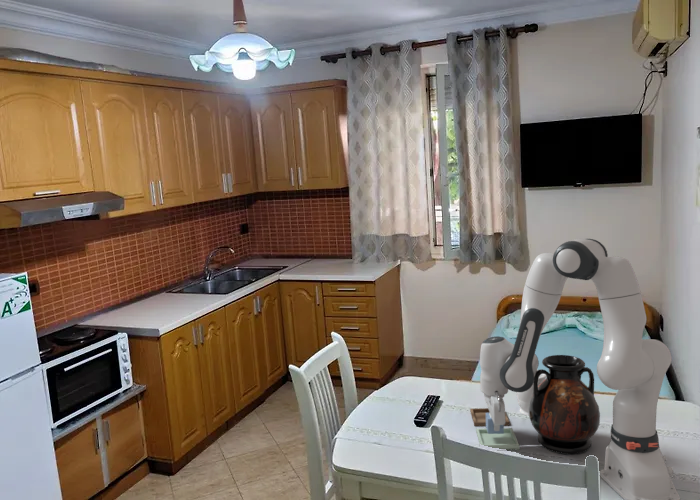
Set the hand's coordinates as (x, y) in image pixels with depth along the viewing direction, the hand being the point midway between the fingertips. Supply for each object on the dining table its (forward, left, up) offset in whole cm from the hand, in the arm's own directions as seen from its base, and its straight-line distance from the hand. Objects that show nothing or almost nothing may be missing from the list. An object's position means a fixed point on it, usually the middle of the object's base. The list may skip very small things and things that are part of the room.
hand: (494, 425), depth 192 cm
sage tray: (0, -1, -5) cm, 5 cm away
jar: (+22, -17, -6) cm, 28 cm away
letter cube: (0, 0, -2) cm, 2 cm away
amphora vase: (-2, -22, -6) cm, 22 cm away
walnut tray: (+16, -1, -5) cm, 17 cm away
